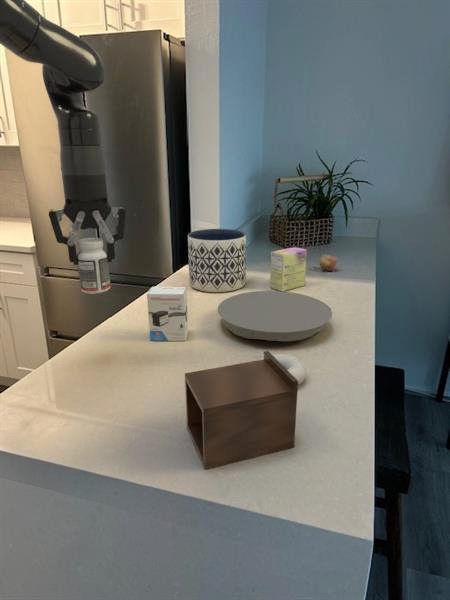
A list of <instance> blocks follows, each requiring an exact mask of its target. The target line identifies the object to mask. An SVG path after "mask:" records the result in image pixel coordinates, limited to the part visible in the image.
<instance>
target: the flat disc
mask: <svg viewBox="0 0 450 600" xmlns="http://www.w3.org/2000/svg"><path fill="white" fill-rule="evenodd" d="M217 313H218V315H219V317H220V318H221V320H222V323H223V325H224V326H225V328H226V329H227V330H228V331H231V333H233V334H234V335H236V336H239V337H241V338H244V339H248V340H249V339H250V340H251V339H252V340H262V341H263V340H264V341H268V342H271V341H273V342H274V341H276V342H278V341H279V342H293V341H301V340H305V339H306V338H311V337H313V336H314V335H315V334H317V333H318V332H321V331H322V330H324V329H325V327H326V326H327V324H328V322H329V321H330V320H331V319H332V318H333V317H332V316H333V311H332V308H331V307H330V306H329V305H328V304H327V303H326V302H324V301H322V300H320V299H317V298H315V297H312V296H309V295H306V294H302V293H297V292H291V291H279V290H257V291H249V292H243V293H238V294H235V295H232V296H229V297H227V298H225V299H224V300H222V301H220V303H219V304H218V306H217Z"/></svg>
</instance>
